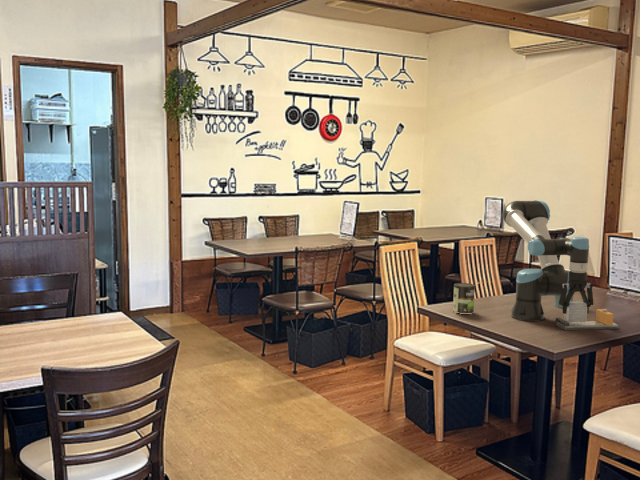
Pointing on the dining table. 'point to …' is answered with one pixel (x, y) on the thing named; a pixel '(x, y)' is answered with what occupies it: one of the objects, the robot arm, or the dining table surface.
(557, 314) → the dining table surface
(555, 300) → the green cup
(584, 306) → the medicine box
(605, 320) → the rail end clamp
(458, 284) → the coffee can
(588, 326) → the grey shallow tray
